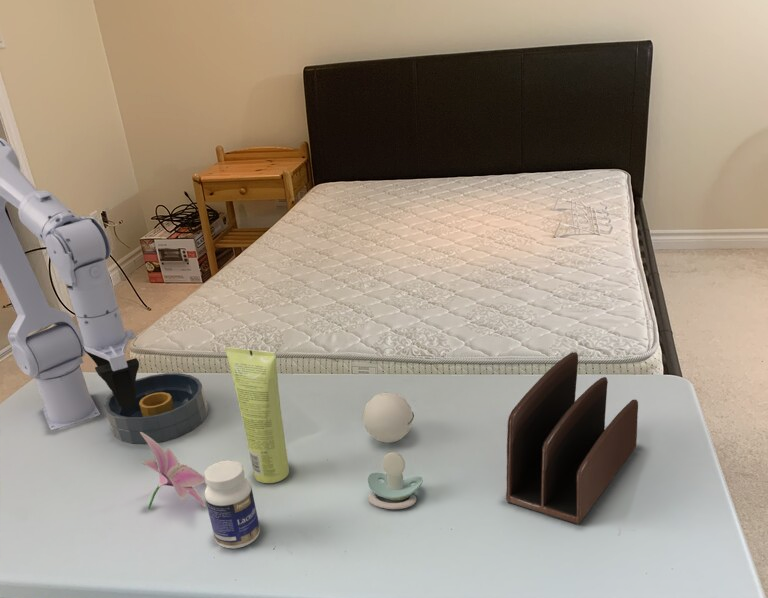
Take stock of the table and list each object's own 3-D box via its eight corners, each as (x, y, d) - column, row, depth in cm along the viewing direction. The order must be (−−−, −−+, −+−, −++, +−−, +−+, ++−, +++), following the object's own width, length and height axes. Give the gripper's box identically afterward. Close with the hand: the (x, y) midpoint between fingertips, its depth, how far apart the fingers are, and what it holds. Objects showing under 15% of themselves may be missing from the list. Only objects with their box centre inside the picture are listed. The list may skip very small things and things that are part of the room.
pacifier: (415, 515, 97) (426, 487, 101) (410, 475, 93) (423, 448, 98) (360, 508, 99) (375, 481, 104) (355, 470, 96) (370, 443, 100)
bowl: (96, 426, 124) (88, 399, 122) (176, 390, 133) (170, 365, 131) (143, 457, 115) (134, 429, 112) (226, 416, 123) (220, 389, 121)
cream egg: (409, 453, 109) (405, 409, 105) (359, 450, 111) (354, 406, 107) (423, 418, 117) (420, 376, 113) (377, 416, 119) (372, 374, 115)
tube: (289, 460, 110) (267, 337, 100) (297, 478, 106) (275, 351, 96) (251, 470, 109) (224, 346, 99) (258, 489, 105) (231, 361, 95)
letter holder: (505, 503, 97) (503, 406, 90) (569, 430, 110) (572, 342, 103) (579, 526, 92) (584, 426, 85) (637, 447, 105) (645, 355, 98)
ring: (141, 417, 125) (136, 398, 123) (171, 408, 126) (166, 389, 125) (149, 430, 121) (143, 410, 119) (179, 420, 123) (174, 400, 121)
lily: (182, 545, 97) (204, 478, 95) (97, 509, 97) (118, 443, 95) (214, 513, 109) (234, 453, 106) (138, 481, 109) (158, 421, 107)
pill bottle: (251, 551, 93) (236, 485, 88) (208, 548, 94) (191, 483, 89) (267, 522, 98) (253, 458, 93) (225, 520, 99) (210, 456, 94)
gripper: (138, 318, 100) (162, 407, 107) (114, 288, 112) (137, 371, 118) (84, 332, 98) (112, 423, 104) (65, 300, 109) (91, 384, 116)
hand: (122, 396), depth 111 cm, fingers open, 7 cm apart
